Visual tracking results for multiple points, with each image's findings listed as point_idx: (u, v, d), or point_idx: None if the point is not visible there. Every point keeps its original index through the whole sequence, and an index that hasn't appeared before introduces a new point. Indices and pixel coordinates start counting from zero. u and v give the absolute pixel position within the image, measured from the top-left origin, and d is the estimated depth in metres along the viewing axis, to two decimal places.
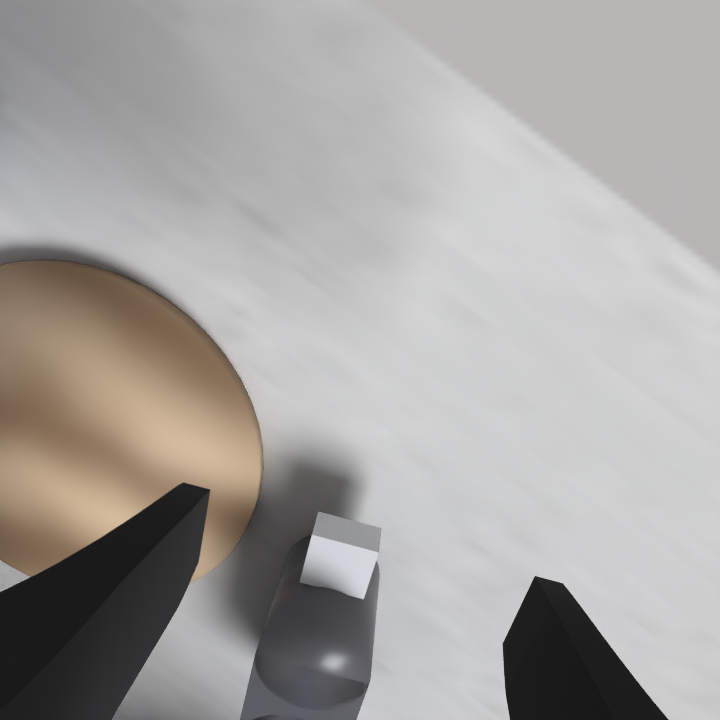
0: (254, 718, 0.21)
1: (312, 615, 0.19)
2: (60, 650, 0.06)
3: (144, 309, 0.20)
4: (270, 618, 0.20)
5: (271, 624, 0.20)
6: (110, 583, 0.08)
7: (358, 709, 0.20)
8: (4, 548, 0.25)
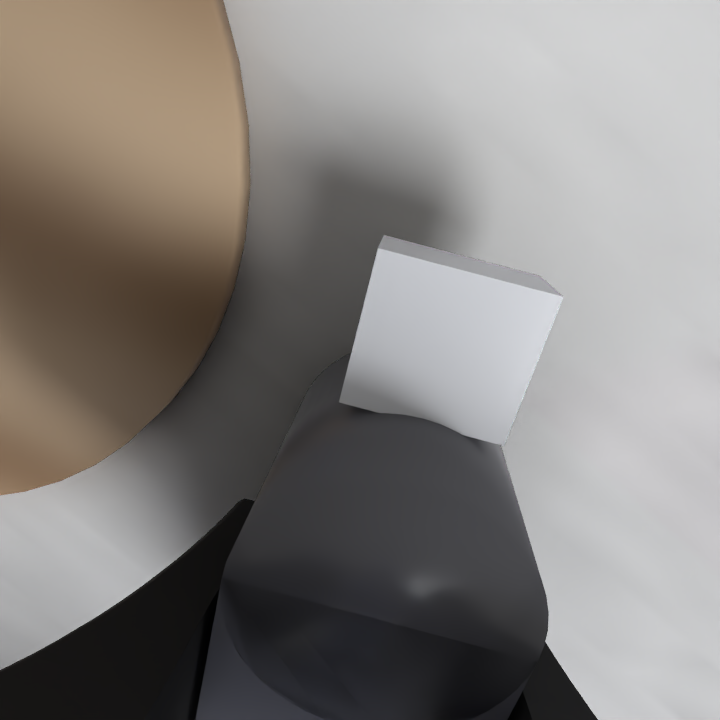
0: None
1: (384, 462, 0.07)
2: (167, 679, 0.06)
3: None
4: (263, 489, 0.08)
5: (265, 497, 0.07)
6: (198, 607, 0.08)
7: None
8: None
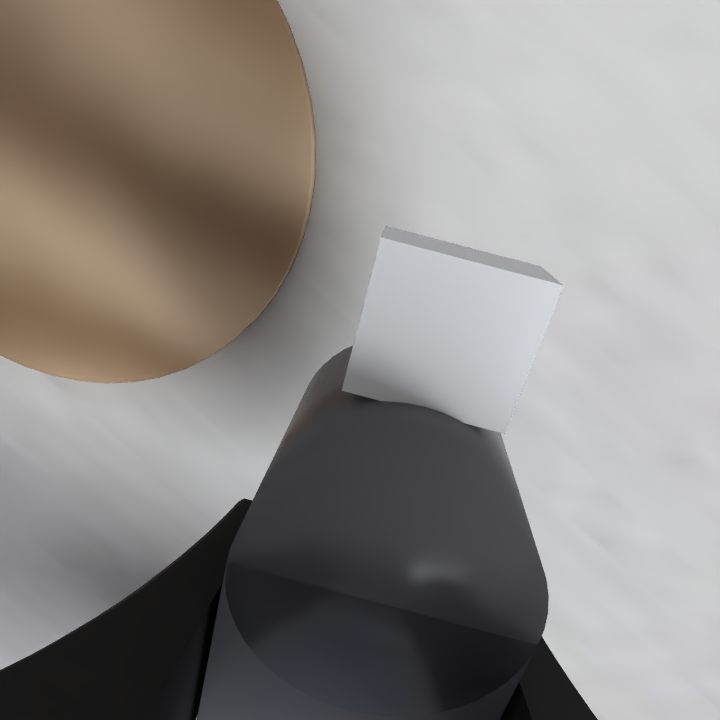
0: None
1: (387, 447, 0.07)
2: (167, 679, 0.06)
3: None
4: (267, 476, 0.08)
5: (269, 483, 0.07)
6: (198, 607, 0.08)
7: (498, 714, 0.08)
8: None
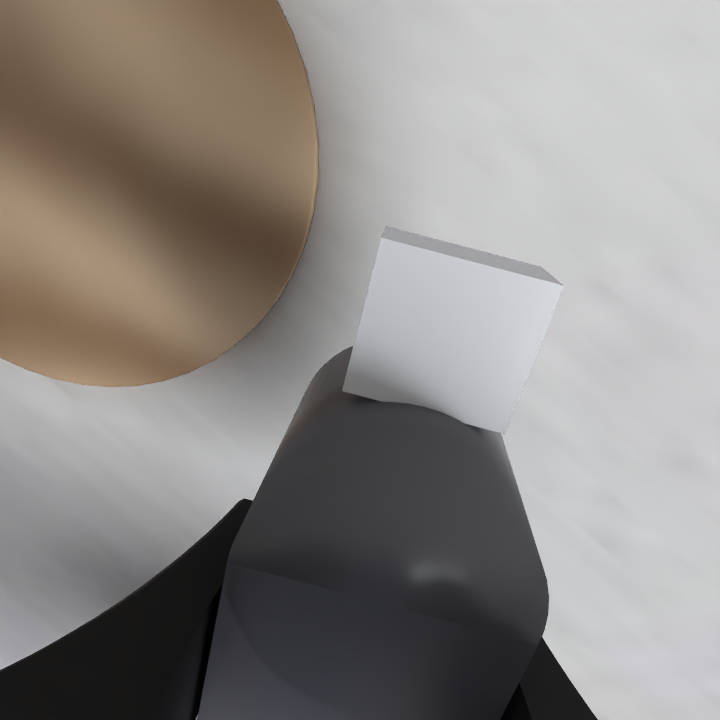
0: None
1: (387, 448, 0.07)
2: (167, 679, 0.06)
3: None
4: (268, 476, 0.08)
5: (269, 484, 0.07)
6: (198, 606, 0.08)
7: (498, 714, 0.08)
8: None
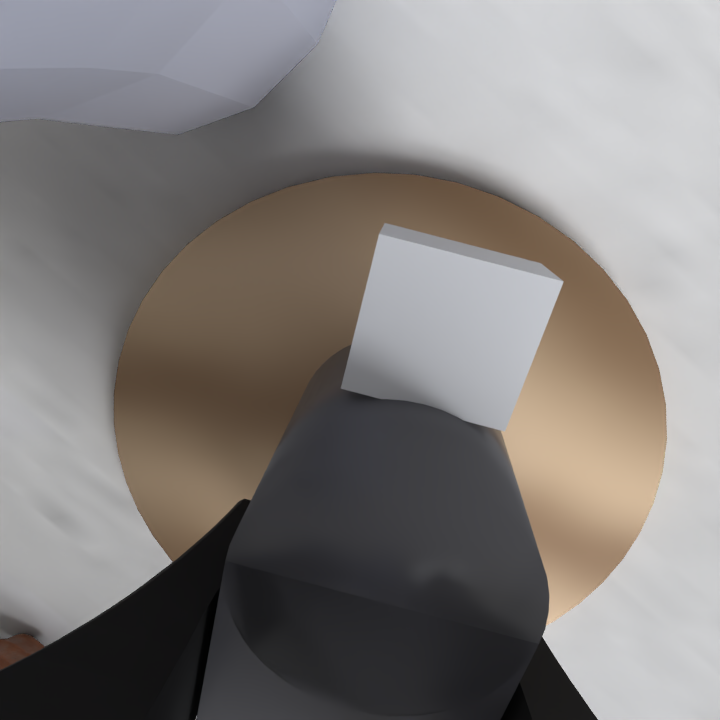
0: None
1: (385, 445, 0.07)
2: (167, 679, 0.06)
3: (546, 245, 0.13)
4: (266, 475, 0.08)
5: (267, 481, 0.07)
6: (197, 607, 0.08)
7: (499, 714, 0.08)
8: None
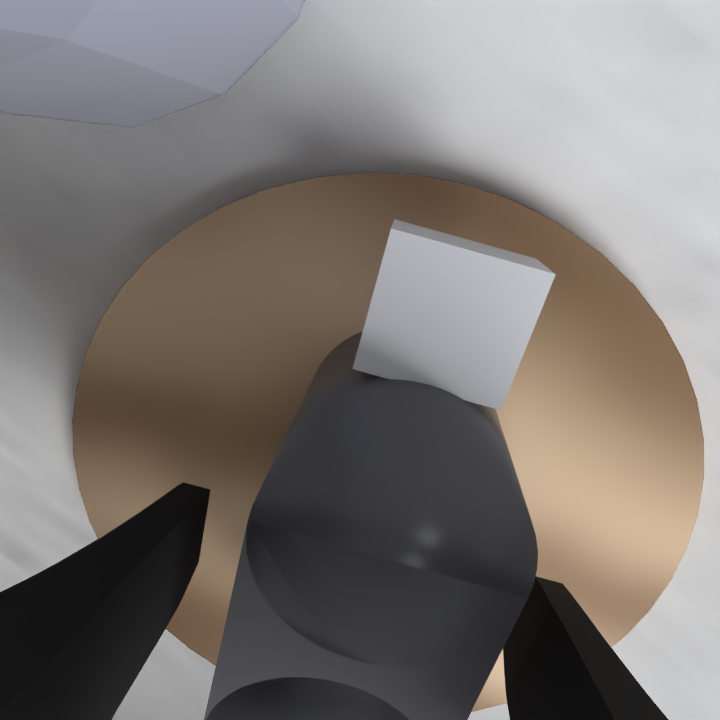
0: (243, 686, 0.09)
1: (395, 417, 0.08)
2: (60, 650, 0.06)
3: (567, 257, 0.11)
4: (284, 445, 0.08)
5: (287, 450, 0.08)
6: (110, 583, 0.08)
7: (491, 663, 0.08)
8: (217, 644, 0.16)
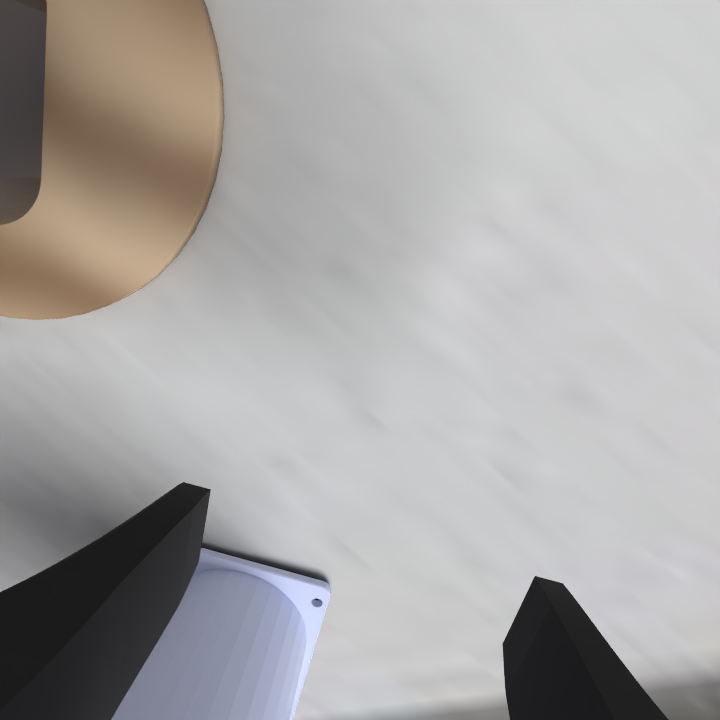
0: None
1: None
2: (60, 650, 0.06)
3: None
4: None
5: None
6: (110, 583, 0.08)
7: None
8: None
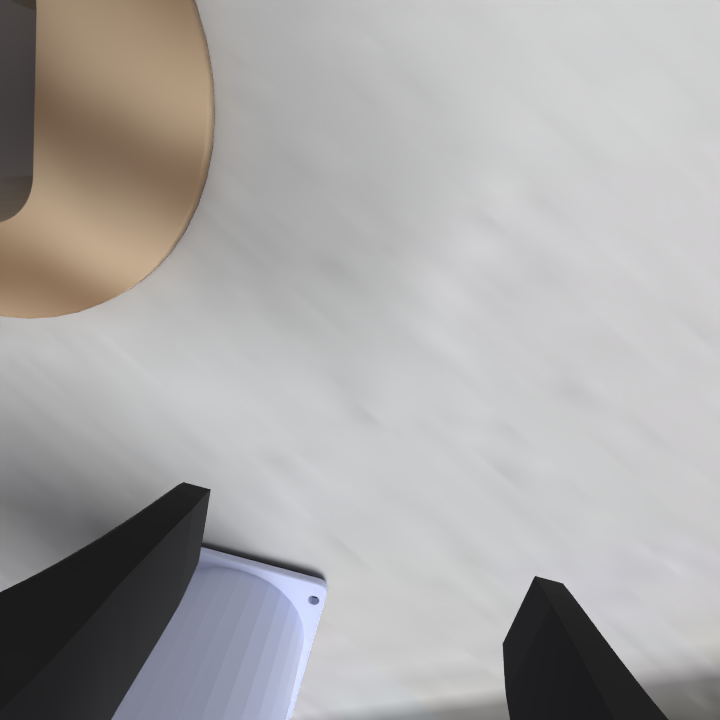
0: None
1: None
2: (60, 650, 0.06)
3: None
4: None
5: None
6: (110, 583, 0.08)
7: None
8: None
